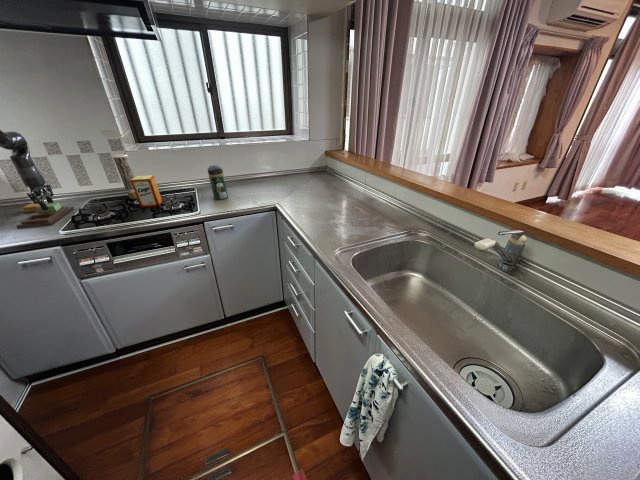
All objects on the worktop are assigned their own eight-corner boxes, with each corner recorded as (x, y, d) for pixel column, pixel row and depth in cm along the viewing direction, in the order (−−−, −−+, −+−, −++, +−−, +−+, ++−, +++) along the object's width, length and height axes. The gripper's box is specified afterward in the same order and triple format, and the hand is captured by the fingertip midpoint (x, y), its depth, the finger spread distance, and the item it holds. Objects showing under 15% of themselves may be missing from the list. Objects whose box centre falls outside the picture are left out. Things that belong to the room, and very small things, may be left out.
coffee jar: (212, 195, 162) (205, 165, 153) (225, 193, 165) (219, 163, 156) (215, 201, 155) (208, 169, 145) (229, 198, 158) (223, 167, 149)
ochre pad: (25, 212, 144) (22, 207, 142) (31, 209, 148) (28, 204, 147) (43, 211, 145) (40, 206, 144) (48, 207, 150) (45, 202, 148)
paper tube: (139, 194, 166) (124, 153, 153) (144, 197, 162) (128, 155, 149) (127, 197, 161) (110, 155, 149) (131, 200, 157) (115, 157, 145)
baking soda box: (162, 201, 155) (153, 174, 147) (159, 205, 150) (149, 178, 142) (144, 203, 153) (134, 175, 145) (140, 207, 148) (129, 179, 140)
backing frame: (17, 228, 128) (14, 223, 126) (44, 211, 144) (41, 207, 143) (51, 225, 130) (48, 220, 129) (74, 209, 147) (71, 204, 146)
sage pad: (38, 212, 137) (35, 207, 135) (44, 208, 141) (41, 203, 140) (56, 211, 139) (53, 206, 137) (62, 207, 143) (59, 202, 141)
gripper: (31, 172, 136) (49, 203, 144) (10, 180, 124) (31, 214, 132) (49, 171, 137) (65, 201, 146) (29, 179, 125) (49, 212, 134)
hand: (49, 207), depth 139 cm, fingers closed on sage pad, 5 cm apart
